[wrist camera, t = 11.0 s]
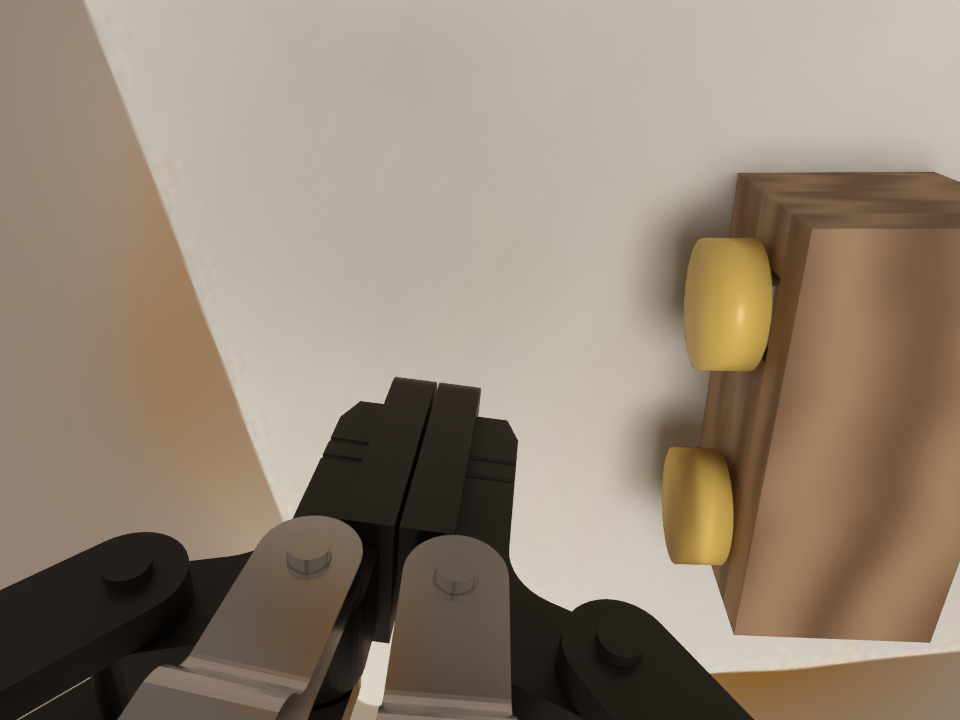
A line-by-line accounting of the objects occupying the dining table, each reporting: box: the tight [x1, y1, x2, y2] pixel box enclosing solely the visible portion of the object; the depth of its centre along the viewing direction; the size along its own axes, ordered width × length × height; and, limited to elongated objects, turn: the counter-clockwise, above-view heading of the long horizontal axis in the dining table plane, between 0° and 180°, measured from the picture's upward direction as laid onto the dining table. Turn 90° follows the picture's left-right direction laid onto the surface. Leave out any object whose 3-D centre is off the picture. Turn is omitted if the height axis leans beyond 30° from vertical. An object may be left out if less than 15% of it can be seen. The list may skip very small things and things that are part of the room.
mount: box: [662, 172, 960, 643], centre depth 37 cm, size 13×22×11 cm, turn 1°
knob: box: [684, 238, 780, 371], centre depth 33 cm, size 15×6×6 cm, turn 91°
